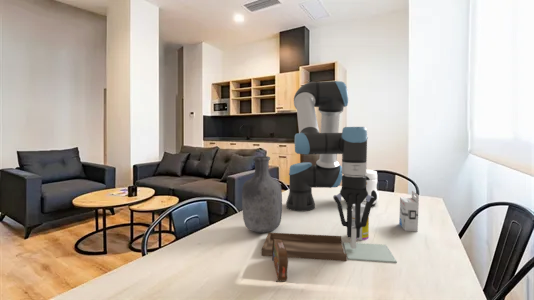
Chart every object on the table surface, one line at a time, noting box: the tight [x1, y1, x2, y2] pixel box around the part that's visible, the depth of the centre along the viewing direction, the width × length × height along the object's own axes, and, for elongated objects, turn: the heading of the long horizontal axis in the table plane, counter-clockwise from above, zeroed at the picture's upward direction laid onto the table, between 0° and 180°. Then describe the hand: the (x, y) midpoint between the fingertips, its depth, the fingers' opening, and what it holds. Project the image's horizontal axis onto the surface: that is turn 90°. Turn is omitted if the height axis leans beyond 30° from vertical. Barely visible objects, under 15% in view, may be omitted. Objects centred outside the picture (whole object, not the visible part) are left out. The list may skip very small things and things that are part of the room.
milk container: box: [361, 169, 380, 206], centre depth 149 cm, size 17×17×18 cm
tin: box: [271, 239, 289, 282], centre depth 77 cm, size 15×3×8 cm, turn 5°
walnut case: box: [260, 232, 348, 262], centre depth 91 cm, size 15×26×3 cm, turn 81°
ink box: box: [398, 190, 420, 232], centre depth 112 cm, size 9×5×15 cm, turn 168°
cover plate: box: [343, 241, 398, 264], centre depth 88 cm, size 12×14×2 cm
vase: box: [241, 155, 283, 234], centre depth 110 cm, size 16×16×30 cm
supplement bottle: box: [352, 204, 370, 241], centre depth 101 cm, size 7×7×13 cm
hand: (353, 246), depth 89 cm, fingers closed
